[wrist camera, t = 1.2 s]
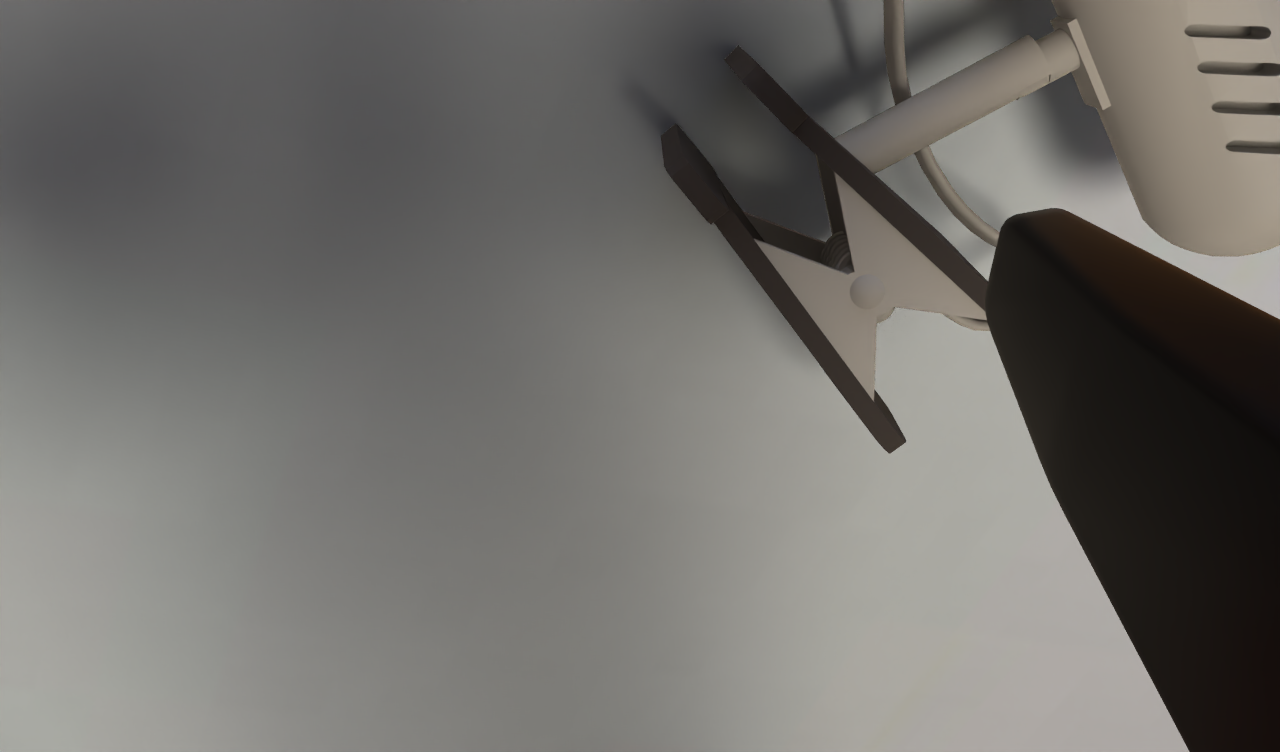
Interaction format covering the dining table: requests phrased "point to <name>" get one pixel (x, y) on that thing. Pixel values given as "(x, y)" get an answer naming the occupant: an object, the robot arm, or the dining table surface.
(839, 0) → the dining table surface
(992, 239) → the clip-on lamp
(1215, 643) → the robot arm
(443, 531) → the dining table surface
